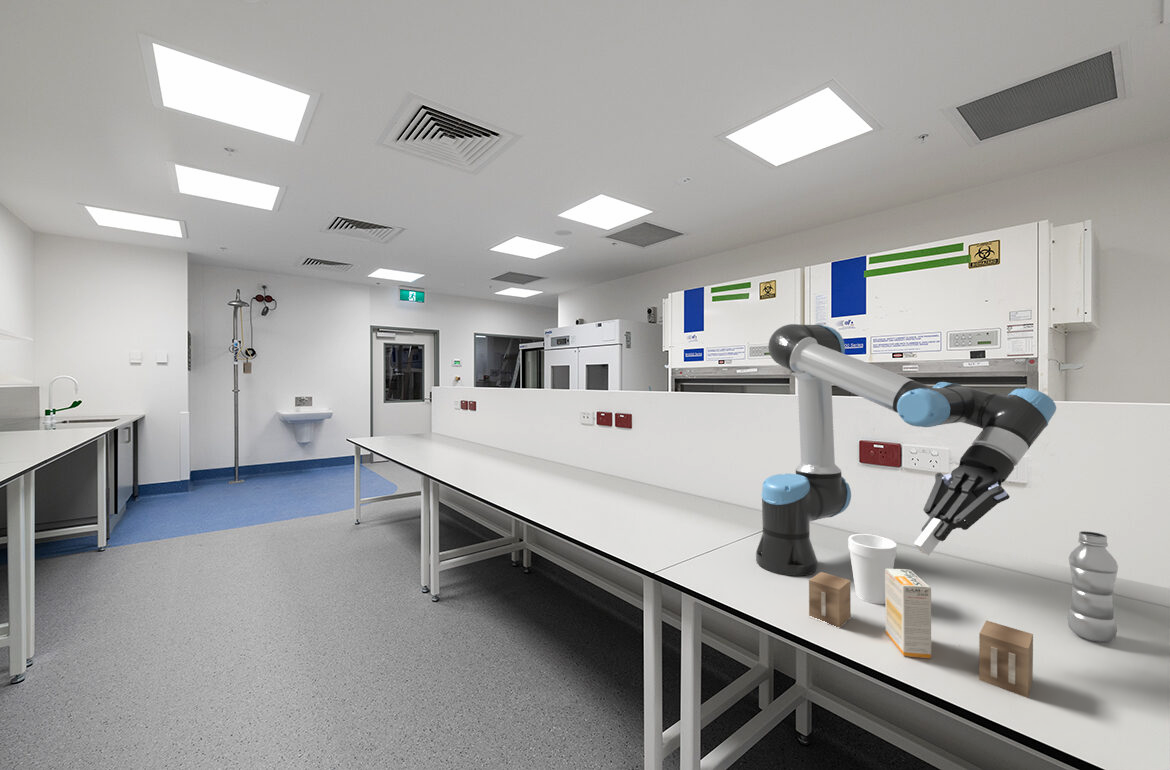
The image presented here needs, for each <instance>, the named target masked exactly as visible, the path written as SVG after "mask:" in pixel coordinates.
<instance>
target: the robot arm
mask: <svg viewBox="0 0 1170 770" xmlns="http://www.w3.org/2000/svg"><path fill="white" fill-rule="evenodd" d="M845 350H846V346H845V341H844V338H843V337H842V334H841V333H840V332H839V331H837V330H836V329H835V328H834V327H831V326H828V325H822V324H795V323H791V324H790V323H789V324H784V325H783V326H781V327H779V328H777V329H776V330H775V331H774V332H773V333H772V335H771V336H770V338H769V341H768V353H769V356H770V357H771V359H772V360H773V361H774V362H775V363H776V364H778V365H779V366H782V367H783V368H785V369H788V370H790V371H791V375H792V376H793V377H795V378H796V379H797V400H798V422H799V424H798V425H799V443H800V444H799V446H800V463H799V465H798V466H796V467H795V473H780V474H773V475H771V476H768V477H766V478H765V479H764V480H763V483H762V488H761V489H762V490H761V507H762V508H761V509H762V514H761V516H762V534H761V536H760V537H761V538H760V540H759V543H758V546H757V549H756V552H755V558H756V559H755V560H756V561H757V562H756V561H755V562H756V564H757V565H758V564H759V567H761V566H762V567H761V568H763V567H764V568H765V570H767V571H769V570H770V572H772V573H775V572H776V573H775V574H780V575H785V576H805V575H806V576H807V575H811V574H813V573H815V572H816V571H817V569H818V559H817V555H816V552H815V550H814V547H813V544H812V541H811V538H810V537H811V536H810V530H811V529H810V527H811V526H810V522H815V521H819V520H821V519H827V518H833V517H835V516H837V515H839V514H842V513H843V512H844V511H846V510H847V508H849V505H850V503H851V499H852V491H851V490H852V489H851V487H850V485H849V483H848V482H847V481H846V478H844V477H843V476H842V469H841V468H840V467H839V466H837V465H836V463H835V459H836V458H835V437H834V415H833V414H834V413H833V412H834V411H833V391H832V388H833V387H832V385H834V386H836V387H838V388H840V389H842V390H845V391H847V392H849V393H852V394H853V395H856V396H858V397H861V398H863V399H865V400H867V401H869V402H872V403H874V404H877V406H881V407H884V408H886V409H888V410H890V411H892V412H894V413H897V414H898V416H899V417H900V418H901V420H903V422H905V423H906V424H908V425H910V426H911V427H912V426H913V427H917V428H919V427H921V428H932V427H938V426H941V425H949V424H958V423H962V424H966V425H969V426H970V425H971V426H973V427H977V428H979V429H982V430H981V432H979V434H978V435H977V436H976V438H975V439H974V440H973V441H972V443H971V445H970V446H969V447H968V448H967V450H966V451H965V452H964V453H963V454H962V456H961V457H960V459H959V465H958V466H957V467H956V468H954V469H953V470H951V472H950V473H947V474H942V473H941V472H937V473H936V474H935V477H934V479H935V481H934V484H933V487H932V488H931V491H930V493H929V496H928V498H927V501H926V502H925V505H924V507H923V508H922V509H923V512H924V513H925V514H926V515H927V516H928V517H929V518H928V520H927V521H926V522H925V524H924V525H923V527H922V528H921V530H920V531H921V533H920V535H919V536H918V537H917V539H915V541H914V543H913V545H914V546H915V548H917V549H918V551H920V552H921V553H922V554H924V555H926V556H930V555H931V553H932V552H933V551H934V550H935V548H936V547H937V546H938V545H939V543H940V542H944V541H945V540H946V539H947V538H948V536H949V535H950V534H951V532H953V530H956V529H961V530H963V531H966V530H969V528H971V527H972V526H973V525H974V524H975V523H977V522H978V521H979V520H980V519H981V518H983V517H984V516H985V515H986V514H987V513H988V512H990V511H991V510H992V509H993V508H994V507H995V506H997V505H998V504H1000V503H1002V502H1004V501H1007V500H1008V499H1010V495H1009V493H1008V492H1007V491H1006V490H1005V489H1004V487H1002V483H1004V482H1005V481H1006V480H1007V479H1008V477H1009V476H1010V475H1011V474H1012V473H1013V471H1014V470H1015V467H1016V466H1017V465H1019V463H1020V462H1021V460H1022V459H1023V457H1024V456H1025V454H1026V453H1027V452H1028V450H1029V449H1030V448H1031V446H1032V445H1033V444H1034V442H1035V441H1036V440H1037V438H1039V436H1040V435H1041V434H1042V433H1043V431H1044V430H1045V428H1047V427H1048V426H1049V422H1050V421H1051V419H1052V418H1053V416H1054V414H1055V413H1056V410H1057V406H1056V403H1055V401H1054V399H1052V398H1051V397H1050V396H1049V395H1047V394H1046V393H1044V392H1042V391H1040V390H1037V389H1035V388H1034V389H1033V388H1030V387H1029V388H1028V387H1025V388H1016V389H1014V390H1012V391H1011V392H1010V393H1008V394H1007V395H1003V394H997V393H992V392H988V391H984V390H980V389H976V388H973V387H968V386H965V385H961V384H960V383H951V382H946V381H939V382H937V383H936V384H935V385H932V386H929V385H926V384H924V383H921V382H919V381H916V380H914V379H911V378H909V377H905V376H903V375H900V374H898V373H896V372H893V371H890V370H888V369H885V368H882V367H879V366H877V365H875V364H871V363H870V362H866V361H864V360H861V359H859V358H856V357H853V356H850V355H848V354H846V353H845ZM764 568H763V569H764Z"/></svg>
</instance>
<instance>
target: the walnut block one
mask: <svg viewBox="0 0 1170 770" xmlns="http://www.w3.org/2000/svg"><path fill="white" fill-rule="evenodd" d="M851 599H852V598H851V580H849V579H848V578H847V579H846V578H845V577H839V576H837V575H834V574H831V573H827V572H824V571H820V572H819V573H816V575H814V576H813V577H811V578H810V579H809V580H808V615H809V616H812V617H814V618H817V619H820V620H822V621H825V622H827V623H829V624H831V625H834V626H836V627H835V628H837V627H840V628H842V627H843V626H844V625H845V624H846V623H847V622H848V621H849V620H850V619H851V618H852V617H851V608H852V607H851ZM809 616H808V617H809ZM850 617H851V618H850ZM849 618H850V619H849ZM848 619H849V620H848ZM847 620H848V621H847ZM846 621H847V622H846ZM845 622H846V623H845ZM844 623H845V624H844ZM829 624H828V625H829ZM831 625H830V626H831ZM834 626H833V627H834Z"/></svg>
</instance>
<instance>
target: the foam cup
mask: <svg viewBox="0 0 1170 770" xmlns="http://www.w3.org/2000/svg"><path fill="white" fill-rule="evenodd" d="M897 544H898V543H897V542H895V541H894V540H893V539H889V538H887V537H883V536H880V535H877V534H876V535H875V534H868V533H857V534H856V533H854V534H851V535H849V536H848V539H847V545H848V546H847V548H848V550H849V555H850V556H849V557H850V562H851V569H852V575H853V576H852V577H853V582H854V589H855V591H854V592H855V596H858V597H857V598H858V599H860V600H861V601H863V602H867V603H869V604H876V605H886V604H885V569H894V565H895V559H896V557H897V549H898V548H897Z"/></svg>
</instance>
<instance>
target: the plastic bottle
mask: <svg viewBox="0 0 1170 770" xmlns="http://www.w3.org/2000/svg"><path fill="white" fill-rule="evenodd" d="M1077 541H1078V542H1079V543H1080V544H1079V545H1078V546H1077V547H1075V548H1074V549H1073V550H1072V551H1071V552H1070V553H1069V556H1068V562H1069V569H1070V574H1071V583H1072V584H1071V585H1072V587H1071V588H1072V589H1071V590H1072V594H1071V600H1070V607H1069V609H1068V613H1067V618H1066V620H1067V625H1068V628H1069V629H1070V630H1071V632H1072V633H1073V634H1074V635H1077V636H1078V637H1081V638H1084V639H1086V640H1089V641H1093V642H1098V643H1099V642H1100V643H1110V642H1112V641H1114V640H1115V639H1116V637H1117V632H1118V627H1117V623H1116V622H1117V621H1116V619H1115V614H1114V613H1115V612H1114V602H1113V601H1114V599H1113V598H1114V595H1113V594H1114V590H1115V584H1116V583H1115V582H1116V579H1117V574H1118V569H1119V566H1118V563H1117V560H1116V559H1115V558H1114V556H1113V555H1112V554H1111V552H1110V551H1108V549H1106V548H1107V547H1109V545H1108V536H1107V535H1106V534H1103V533H1100V532H1093V531H1087V530H1086V531H1085V530H1084V531H1083V530H1081V531H1079V533H1078V540H1077Z"/></svg>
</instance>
